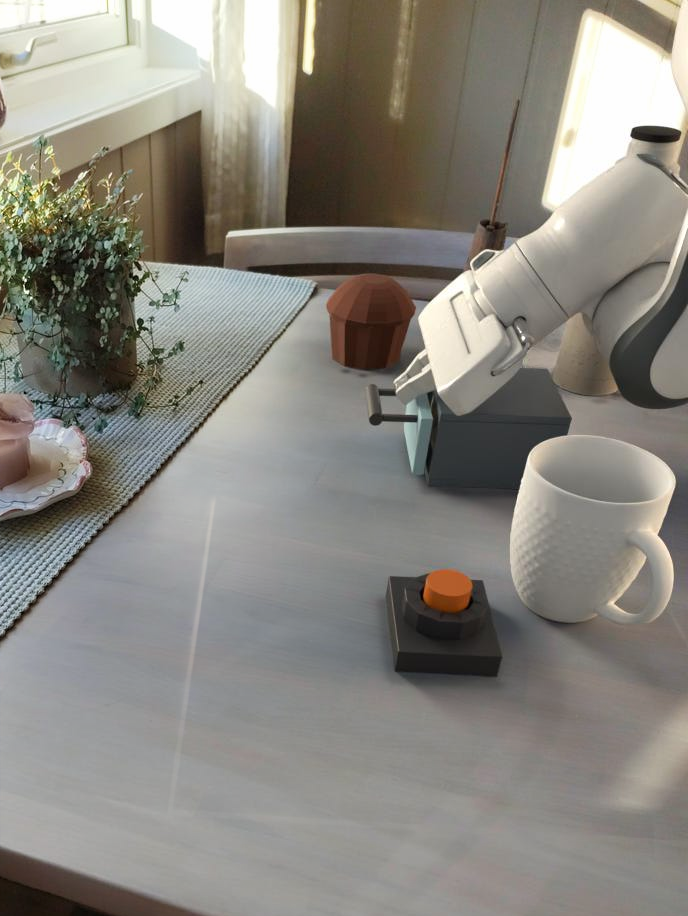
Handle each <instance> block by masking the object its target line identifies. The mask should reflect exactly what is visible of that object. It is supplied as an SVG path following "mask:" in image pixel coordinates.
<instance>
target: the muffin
mask: <svg viewBox="0 0 688 916" xmlns="http://www.w3.org/2000/svg"><path fill="white" fill-rule="evenodd" d="M325 308H326V311H327V313H328V314H329V325H330V326H329V328H330V329H329V330H330V343H331V359H332V360H334V361H336V362H338V363H339V364H341V365H342V366H343V367H347V368H354V369H358V370H362V371H369V370H380V369H381V370H382V369H383V370H385V369H387V368H388V367H390V366H392V365H395V364H396V363H398V362H399V360H400V357H401V353H402V350H403V347H404V343H405V340H406V337H407V333H408V331H409V327H410V324H411V320H412V318H413V317H414V316H415V314H416V309H417V306H416V305H415V303H414V301H413V299H412V297H411V295H410V294H409V292H408V291H407V290H406V288H405V287H403V286H402V284H401V283H399V282H398V281H397V280H395V279H394V278H392V277H391V276H388V275H385V274H379V273H367V272H366V273H360V274H357V275H355V276H353V277H351V278H349V279H347V280H345V281H344V282H342V283H340V285H338V287H337V288H335V290H334V292H333V293H332V294H331V296H330V297H328V300H327V301H326V304H325Z"/></svg>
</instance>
